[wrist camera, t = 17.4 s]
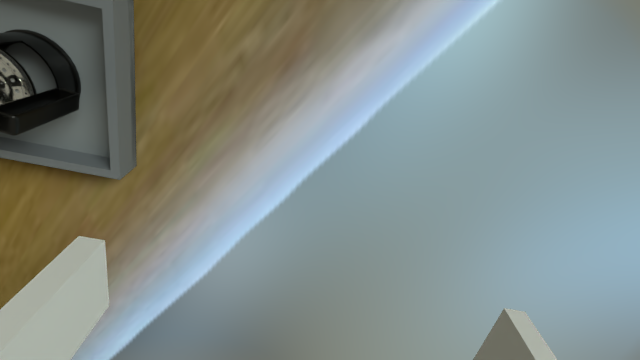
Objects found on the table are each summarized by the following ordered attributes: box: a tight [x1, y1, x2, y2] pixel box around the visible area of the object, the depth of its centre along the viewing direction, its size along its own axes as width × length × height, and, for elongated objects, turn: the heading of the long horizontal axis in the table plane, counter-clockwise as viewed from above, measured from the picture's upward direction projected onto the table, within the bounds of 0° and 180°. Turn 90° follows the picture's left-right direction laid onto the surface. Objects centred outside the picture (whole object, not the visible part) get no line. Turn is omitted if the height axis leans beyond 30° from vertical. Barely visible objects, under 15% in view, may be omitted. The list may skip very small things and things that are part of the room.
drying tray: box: [0, 0, 136, 180], centre depth 37 cm, size 19×19×4 cm
